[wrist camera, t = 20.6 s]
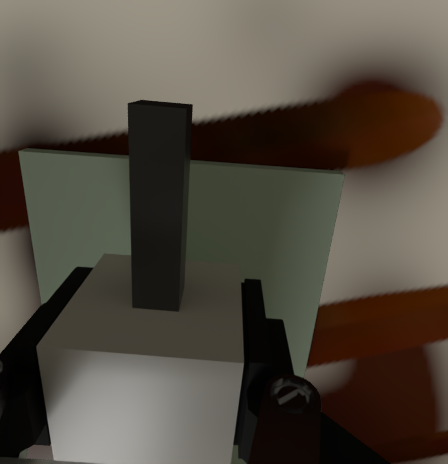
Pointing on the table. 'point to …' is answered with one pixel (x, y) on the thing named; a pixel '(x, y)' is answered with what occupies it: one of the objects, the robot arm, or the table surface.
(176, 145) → the plug
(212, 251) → the mat
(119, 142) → the table surface
